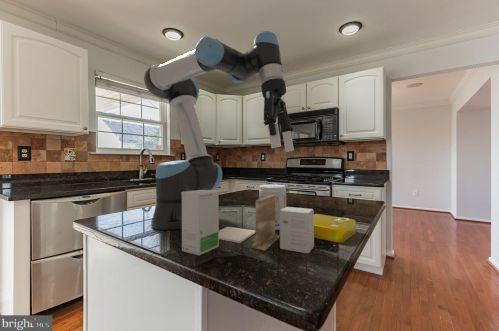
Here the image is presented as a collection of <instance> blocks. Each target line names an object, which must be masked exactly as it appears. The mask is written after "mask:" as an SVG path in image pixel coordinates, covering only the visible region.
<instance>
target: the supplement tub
mask: <svg viewBox="0 0 499 331" xmlns="http://www.w3.org/2000/svg"><path fill="white" fill-rule="evenodd" d="M258 191H259V192H258V193H259V194H258V199H261V198H264V197H266V196H269V195H275V231H280V210H281V209H283V208H285V207H287V187H286V185H285V184H274V183H273V184H271V183H269V184H261V185H259V190H258Z"/></svg>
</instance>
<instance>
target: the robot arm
mask: <svg viewBox="0 0 499 331" xmlns="http://www.w3.org/2000/svg"><path fill="white" fill-rule="evenodd" d="M278 41H279V40H278V35H276V34H275V32H273V31H269V30H268V31H261V32H260V33H258V34H257V35H256V36H255V37H254V39H253V47H252V48H251V49H249V50H247V51H246V52H244V53H243V52H241V51H239V50H237V49H234V48H233V47H231V46H229V45H227V44H225V43H224V42H221V41H220V40H219V39H217V38H216V39H215V38H214V37H210V36H208V35H207V36H203V37H201V38H200V39H199V41H198V42H197V43H196V45H195V49H194V50H192V51H189V52H187V53H184V54H183V55H180V56H177V57H176V58H174V59H171V60H169V61H167V62H165V63H162V64H161V63H156V64H153V65H151V66H150V67H148V68H147V69H146V71H145V73H144V76H143V81H144V85H145V88H146V90H148V92H149V93H150V94H151V95H153V96H154V97H157V98H160V99H165V100H168V103H169V106H170V108H171V109H172V110H174V112H175V116H176V120H177V123H178V128H179V132H180V136H181V140H182V143H183V147H184V148H183V149H184V152H185V156H186V159H185V160H184V159H183V160H182V159H181V160H171V161H165V162H161V163H158V164H157V166H156V168H155V185H156V186H155V196H156V197H155V198H156V199H155V201H156V202H155V203H156V205H155V208H154V212H153V216H152V218H151V221H150V225H151V228H153V229H155V230H162V231H171V230H172V231H174V230H182V194H181V193H182V192H186V191H196V190H215V191H216V189H218V188H219V187H220V186H221V182H222V180H223V171H222V167H221V166H220V165H219V164H217V163H215V162H214V160H213V156H212V155H210V154H208V150H207V148H206V144H205V140H204V137H203V133H202V130H201V126H200V122H199V119H198V115H197V111H196V107H195V105H196V104H197V101H198V99H199V96H200V95H199V94H200V89H199V85H198V82H197V81H196V80H194V78H196V77H198V76H200V75H201V76H202V75H204V74H208V73H210V72H213V71H216V70H217V71H220V72H223V73H226V75H227V77H228V79H229V80H231V82H233V83H234V84H240V83H242V82H245V81H247V80H248V79H251V78H252V77H253V76H256V75H257V74H258V77H259V83H260V86H261V95H262V97H263V99H264V100H263V101H264V102H263V103H264V104H263V105H264V106H263V124H264V126H267V130H268V135H269V140H270V141H269V142H270V148H271V149H276V148H280V147H282V142H281V135H280V131H279V125H278V123H277V119H278V122H279V124H280V127H281V129H282V132H281V133H282V140H283V145H284V151H285V153H287V152H288V153H289V152H293V151H294V150H295V148H294V143H293V136H292V132H293V131H294V128H293V127H292V124H291V121H290V116H289V113H288V110H287V105H286V102H285V101H284V99H282V97H283V96H284V95H286V93H287V86H286V81H285V75H284V72H286V69H285V68H284V67H283V63H282V58H281V51H280V45H279V42H278Z"/></svg>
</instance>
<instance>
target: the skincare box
mask: <svg viewBox="0 0 499 331" xmlns="http://www.w3.org/2000/svg"><path fill="white" fill-rule="evenodd" d="M219 193H220V192H219V190H216V189H215V190H196V191H186V192H182V193H181V194H182V229H181V252H184V253H188V254H190V255H194V256H201V255H204V254H206V253H208V252H210V251H212V250H215V249H217V248H219V246H220V239H219V230H220V228H219V226H220V224H219V223H220V219H219V216H220V215H219V214H220V213H219V210H220V207H219V204H220V203H219Z"/></svg>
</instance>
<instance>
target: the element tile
mask: <svg viewBox="0 0 499 331" xmlns="http://www.w3.org/2000/svg"><path fill="white" fill-rule="evenodd" d="M356 227H357V226H356V220H355V219H352V218H348V217H339V216H334V215H326V214H321V213H315V214H314V239H319V240H324V241H328V242H332V243H344V242H346V241H347V240H348V239H350V238H351V237H352V236H353V235H355V234H356V233H357V232H356V231H357V230H356V229H357V228H356Z"/></svg>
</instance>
